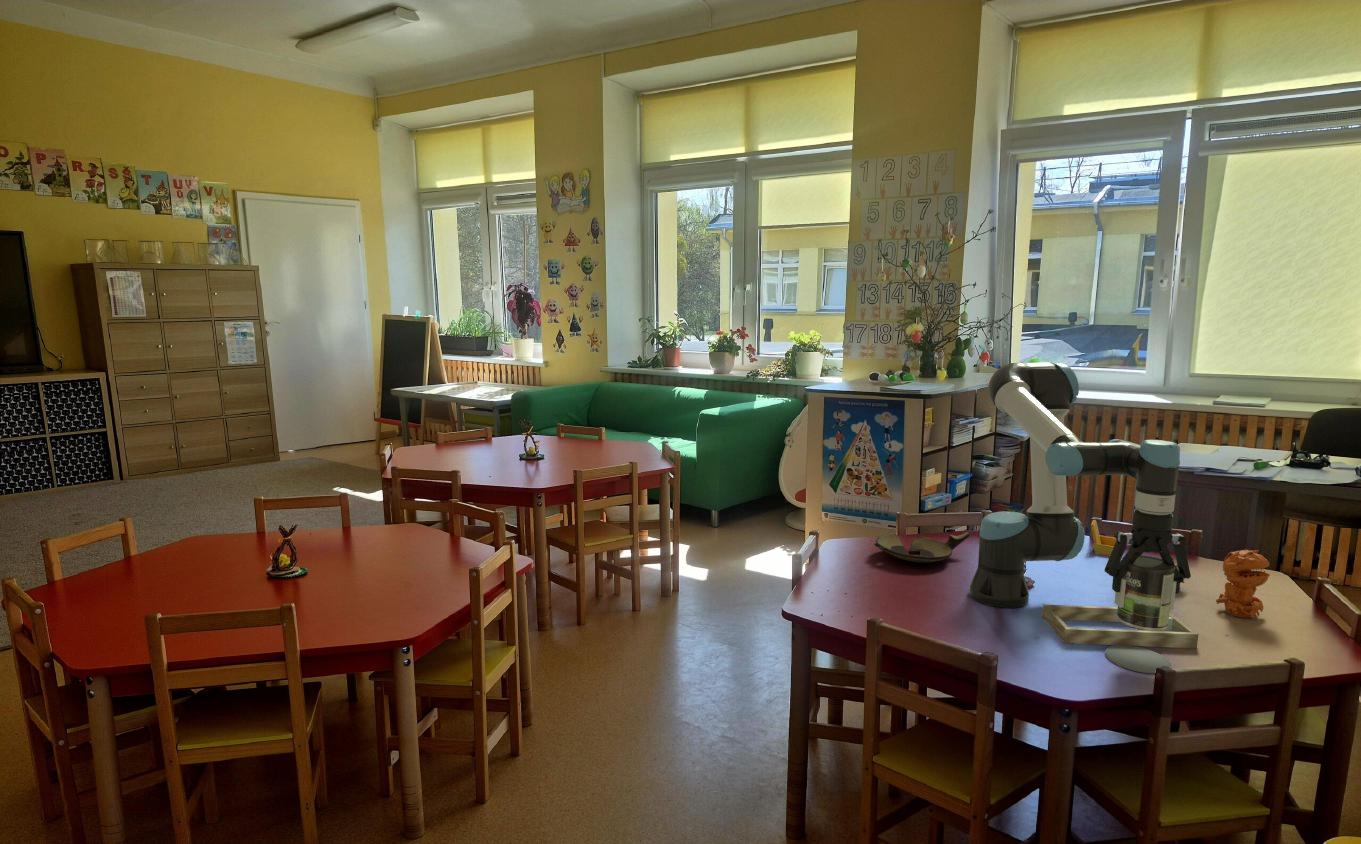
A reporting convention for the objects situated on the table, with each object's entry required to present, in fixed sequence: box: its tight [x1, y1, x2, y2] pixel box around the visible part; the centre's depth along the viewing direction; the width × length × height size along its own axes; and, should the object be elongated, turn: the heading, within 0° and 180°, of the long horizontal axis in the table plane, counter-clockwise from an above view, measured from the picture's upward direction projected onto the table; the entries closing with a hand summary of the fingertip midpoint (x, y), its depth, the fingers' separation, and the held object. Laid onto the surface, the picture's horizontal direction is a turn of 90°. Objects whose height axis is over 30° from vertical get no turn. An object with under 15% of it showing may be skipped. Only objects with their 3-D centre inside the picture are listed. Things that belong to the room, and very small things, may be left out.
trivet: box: [1104, 645, 1172, 675], centre depth 177 cm, size 13×13×1 cm
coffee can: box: [1116, 554, 1176, 631], centre depth 174 cm, size 10×10×14 cm
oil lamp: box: [874, 532, 971, 564], centre depth 243 cm, size 22×30×8 cm
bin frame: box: [1041, 604, 1200, 649], centre depth 191 cm, size 30×15×4 cm, turn 85°
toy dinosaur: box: [1215, 549, 1271, 619], centre depth 202 cm, size 11×11×18 cm
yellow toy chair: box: [1090, 519, 1116, 557], centre depth 252 cm, size 10×10×9 cm
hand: (1143, 606), depth 175 cm, fingers closed on coffee can, 10 cm apart
